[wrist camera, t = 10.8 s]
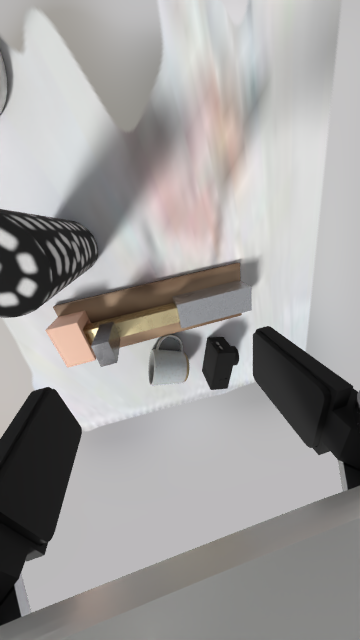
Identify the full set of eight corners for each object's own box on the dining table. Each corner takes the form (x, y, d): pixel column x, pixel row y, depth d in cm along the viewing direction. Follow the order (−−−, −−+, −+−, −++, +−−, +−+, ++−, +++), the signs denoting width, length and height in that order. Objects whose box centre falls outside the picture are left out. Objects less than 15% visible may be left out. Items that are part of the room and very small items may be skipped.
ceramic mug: (179, 369, 48) (186, 392, 41) (147, 369, 46) (149, 393, 39) (187, 333, 44) (196, 351, 37) (152, 331, 42) (155, 350, 35)
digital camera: (220, 369, 51) (232, 388, 45) (201, 371, 50) (211, 390, 44) (227, 336, 47) (241, 352, 41) (207, 337, 46) (218, 353, 39)
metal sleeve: (172, 296, 38) (176, 305, 34) (238, 280, 40) (251, 286, 35) (176, 318, 40) (181, 328, 36) (239, 301, 42) (251, 310, 37)
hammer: (74, 324, 36) (53, 355, 27) (185, 297, 38) (200, 317, 29) (83, 342, 37) (66, 376, 28) (188, 314, 40) (203, 338, 31)
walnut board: (55, 305, 35) (52, 307, 34) (237, 262, 39) (239, 263, 38) (81, 355, 41) (80, 358, 40) (239, 313, 44) (241, 315, 44)
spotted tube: (59, 207, 29) (-61, 171, 12) (107, 243, 33) (71, 258, 15) (34, 251, 31) (-103, 278, 13) (82, 281, 34) (25, 334, 17)
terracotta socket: (58, 316, 35) (45, 330, 30) (84, 310, 36) (76, 322, 31) (76, 350, 39) (67, 367, 34) (100, 344, 39) (95, 360, 35)
